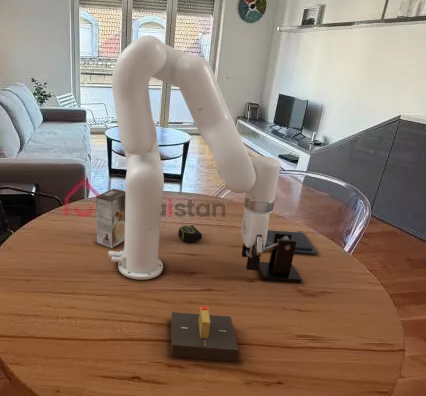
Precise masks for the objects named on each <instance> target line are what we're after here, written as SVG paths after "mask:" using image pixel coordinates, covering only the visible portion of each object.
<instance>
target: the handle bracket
mask: <svg viewBox="0 0 426 396" xmlns="http://www.w3.org/2000/svg"><path fill="white" fill-rule="evenodd" d="M284 236H287V237H288V238H289V240H288V239H279V238H281V237H284ZM291 237H292V234H291V233H279V232H275V234H274V240H273V244H275V243H278V246H277V248H276V249H273V250H271V252H270V255H269V261H260V263H259V269H258V271H259V274H260V276H261V278H262V280H263V282H264V281H266V282H278V283H279V282H280V283H295V284H301V282H302V278H301V277H300V275H299V273H298V272H297V270H296V268H295V267H294V264H293V259H294V256H295V253H294V251H295V247H296V240H291ZM277 239H279V241H277Z"/></svg>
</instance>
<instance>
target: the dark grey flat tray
mask: <svg viewBox="0 0 426 396" xmlns="http://www.w3.org/2000/svg"><path fill="white" fill-rule="evenodd" d="M275 232H279V233H291V234H292V237H291V240H296V247H295V251H294V255H295V254H297V255H306V256H307V255H308V256H316V254H317V251H316V248H314V246H313V245H312V243H311V242H310V241H309V239H308V238H307V236H306V235H305V234H304V232H303V231H293V230H282V229H281V230H280V229H269V228H268V232H267V239H266V244H265V247H267V246H270V245H272V244H273V240H274V234H275ZM255 246H256V244H255ZM265 247H264V248H265ZM254 251H256V249H254ZM269 252H270V253H271V251H269Z"/></svg>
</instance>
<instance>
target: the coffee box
mask: <svg viewBox="0 0 426 396" xmlns="http://www.w3.org/2000/svg"><path fill="white" fill-rule="evenodd" d="M95 197H96V243H97V244H99V245H102V246H105V247H107V248H111V249H114V247H117V246H118V245H120V244H121V243H123V242H125V190H121V189H118V188H112V189H110V190H107V191H105V192H103V193H101V194H98V195H96V196H95Z"/></svg>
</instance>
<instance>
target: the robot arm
mask: <svg viewBox="0 0 426 396" xmlns="http://www.w3.org/2000/svg"><path fill="white" fill-rule="evenodd" d="M111 75H112V76H111V87H112V88H111V89H112V96H113V102H114V109H115V115H116V121H117V128H118V137H119V142H120V144H121V146H122V148H123V151H124V155H125V161H126V165H127V169H126V172H125V173H126V174H125V181H124V183H125V184H124V185H125V186H124V187H125V189H124V191H125V240H124V241H123V242H124V246H123V250H120V251H115V250H108V254H107V257H108V258H109V259H111V262H113V263H117V265H118V266H117V268H118V271H119V272H120V273H121V275H123V276H125V277H126V278H129V279H132V280H138V281H139V280H140V281H143V280H151V279H154V278H156V277H158V276H160V275H161V274H162V272H163V269H164V264H163V262H162V260H161V259H160V258H159V248H160V235H161V234H160V233H161V220H162V219H161V217H162V205H163V204H162V202H163V195H164V188H165V187H164V186H165V177H164V170H163V166H162V165H163V164H162V161H161V153H160V148H159V147H160V146H159V140H158V133H157V126H156V125H157V124H156V123H155V121H154V118H153V113H152V107H151V98H150V97H151V96H150V87H149V86H150V81H151V79H153V78H154V79H156V80H158V81H161V82H163V83H166V84H168V85H171V86H174V87H176V88H179V91H180V93H181V95H182V97H183V98H182V99H183V100H184V102H185V104H186V107H187V109H188V111H189V114H190V116H191V118H192V120H193V123H194V125H195V128H196V129H197V131H198V134H199V135H200V137H201V139H202V140H203V141H204V143H205V144H206V145H207V147H208V149H209V151H210V153H211V155H212V157H213V159H214V161H215V164H216V171H217V174H218V176H219V177H220V179H221V181H222V182H223V184H224V185H225V187H226V189H228V190H229V191H230V192H232V193H235V194H244V193H245V194H244V201H243V202H244V203H243V209H244V211H243V214H242V215H243V216H242V221H241V225H240V237H241V239H242V242H243V243H242V248H241V249H242V250H241V257H242V258H247V255H246V253H245V249H247V248H248V249H250V254H249V256H248V258H247V260H246V267H245V268H246V271H259V263H260V262H261V258H262V255H263V254H262V249H263V248H264V247H265V244H266V239H267V232H268V229H269V222H270V215H271V214H272V213H273V212H274V208H275V201H276V196H277V189H278V184H279V177H280V172H281V162H280V161H279V160H278V159H276V158H274V157H270V156H250V155H249V152H248V150H247V148H246V145H245V143H244V140H243V139H242V137H241V135H240V133H239V130H238V128H237V126H236V123H235V121H234V119H233V117H232V115H231V112H230V110H229V108H228V105H227V103H226V100H225V98H224V95H223V92H222V90H221V88H220V85H219V83H218V80H217V78H216V75H215V72H214V71H213V68H212V66H211V64H210V62H209V61H208V60H207V59H206V58H205V57H203V56H200V55H196V54H190V53H188V52H185V51H182V50H180V49H178V48H175V47H173V46H170V45H168V44H166V43H163V42H162V41H161V40H160V39H159V38H158V37H156V36H154V35H142V36H139V37H138V38H136V39H134V40H133V41H132V42H131V43H129V44H128V45H127V46H126V47H125V48H124V49H123V50H122V52H120V54H119V56H118V57H117V60H116V61H115V64H114V66H113V69H112V74H111ZM255 244H256V246H255ZM254 249H256V250H254Z"/></svg>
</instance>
